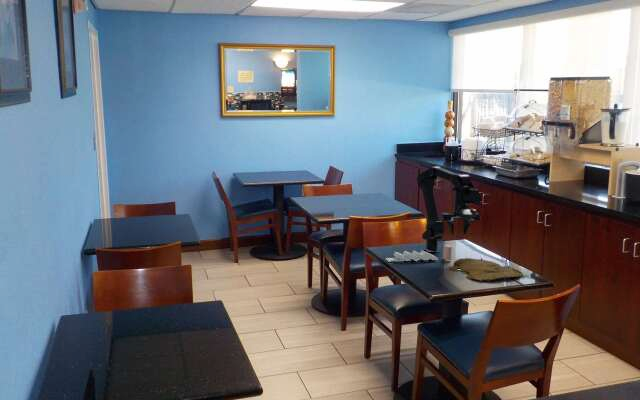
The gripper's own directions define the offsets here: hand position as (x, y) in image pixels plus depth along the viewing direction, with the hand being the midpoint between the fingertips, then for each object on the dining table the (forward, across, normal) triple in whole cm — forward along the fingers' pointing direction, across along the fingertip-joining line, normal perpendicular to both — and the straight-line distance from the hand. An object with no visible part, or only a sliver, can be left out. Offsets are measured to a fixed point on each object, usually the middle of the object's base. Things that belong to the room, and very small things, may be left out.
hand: (458, 234), depth 271 cm
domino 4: (+11, -15, 0) cm, 19 cm away
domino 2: (+11, -24, 0) cm, 26 cm away
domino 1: (+12, -28, 0) cm, 30 cm away
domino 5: (+11, -11, 0) cm, 16 cm away
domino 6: (+12, -5, -1) cm, 13 cm away
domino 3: (+11, -20, 0) cm, 23 cm away
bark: (+13, +4, -22) cm, 26 cm away
